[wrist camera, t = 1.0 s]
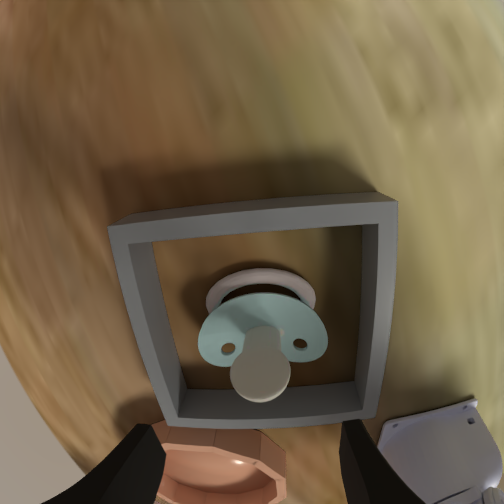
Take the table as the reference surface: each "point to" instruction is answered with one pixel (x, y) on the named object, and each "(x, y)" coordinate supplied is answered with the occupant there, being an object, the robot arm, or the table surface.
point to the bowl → (220, 466)
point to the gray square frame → (250, 221)
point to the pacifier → (261, 331)
